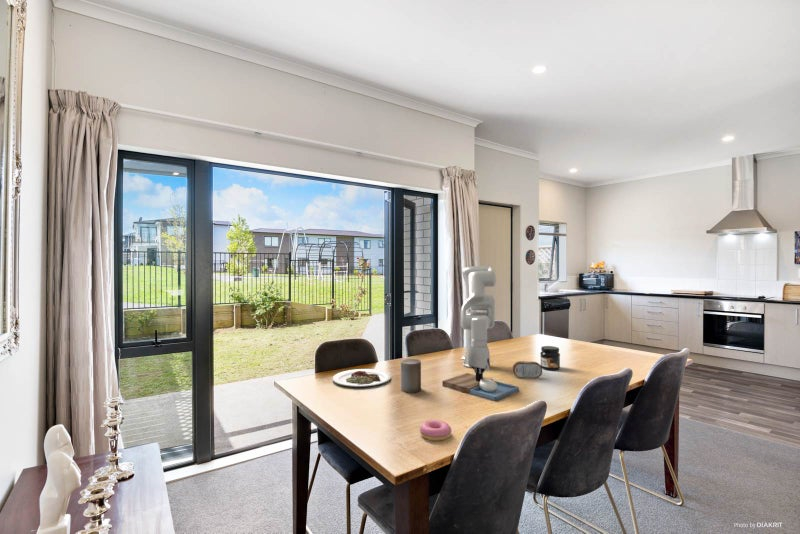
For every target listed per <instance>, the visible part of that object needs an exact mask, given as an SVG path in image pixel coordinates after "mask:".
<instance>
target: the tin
mask: <svg viewBox="0 0 800 534" xmlns="http://www.w3.org/2000/svg"><path fill="white" fill-rule="evenodd" d="M540 365H541V363H538V362H537V361H525V360H524V361H523V360H521V361H517V362H515V363H514V364H513V365H512V372H513V374H514V376H515V377H516V378H520V379H537V378H540V377H541V376H542V375H543V369H542V367H541V366H540Z"/></svg>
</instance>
